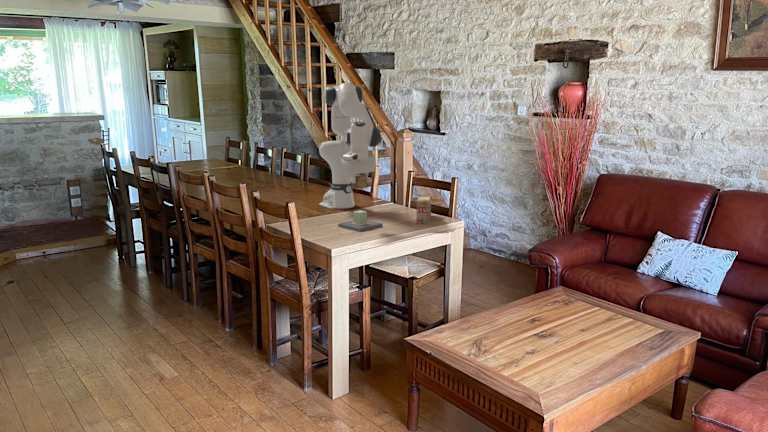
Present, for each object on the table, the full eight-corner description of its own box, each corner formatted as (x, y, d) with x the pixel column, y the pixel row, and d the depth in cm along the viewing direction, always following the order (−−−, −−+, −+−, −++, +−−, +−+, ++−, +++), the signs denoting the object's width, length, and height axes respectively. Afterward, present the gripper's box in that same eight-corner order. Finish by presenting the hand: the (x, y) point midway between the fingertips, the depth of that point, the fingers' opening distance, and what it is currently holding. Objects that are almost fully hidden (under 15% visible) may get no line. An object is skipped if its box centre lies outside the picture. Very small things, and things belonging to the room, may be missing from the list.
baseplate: (338, 226, 314) (338, 223, 313) (361, 221, 325) (361, 218, 324) (359, 231, 303) (359, 228, 302) (382, 226, 314) (382, 222, 313)
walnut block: (352, 187, 309) (352, 175, 308) (360, 186, 313) (360, 174, 312) (359, 188, 306) (359, 176, 305) (366, 187, 309) (366, 175, 308)
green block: (353, 223, 313) (353, 211, 312) (360, 221, 317) (360, 210, 316) (360, 224, 310) (359, 212, 309) (367, 223, 313) (367, 211, 312)
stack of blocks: (419, 215, 340) (419, 193, 337) (431, 215, 339) (431, 193, 336) (416, 224, 319) (416, 200, 316) (428, 224, 318) (428, 201, 315)
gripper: (370, 152, 315) (370, 179, 318) (339, 156, 301) (340, 184, 304) (378, 153, 311) (378, 180, 314) (348, 157, 297) (348, 185, 300)
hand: (359, 182), depth 309 cm, fingers closed on walnut block, 5 cm apart
